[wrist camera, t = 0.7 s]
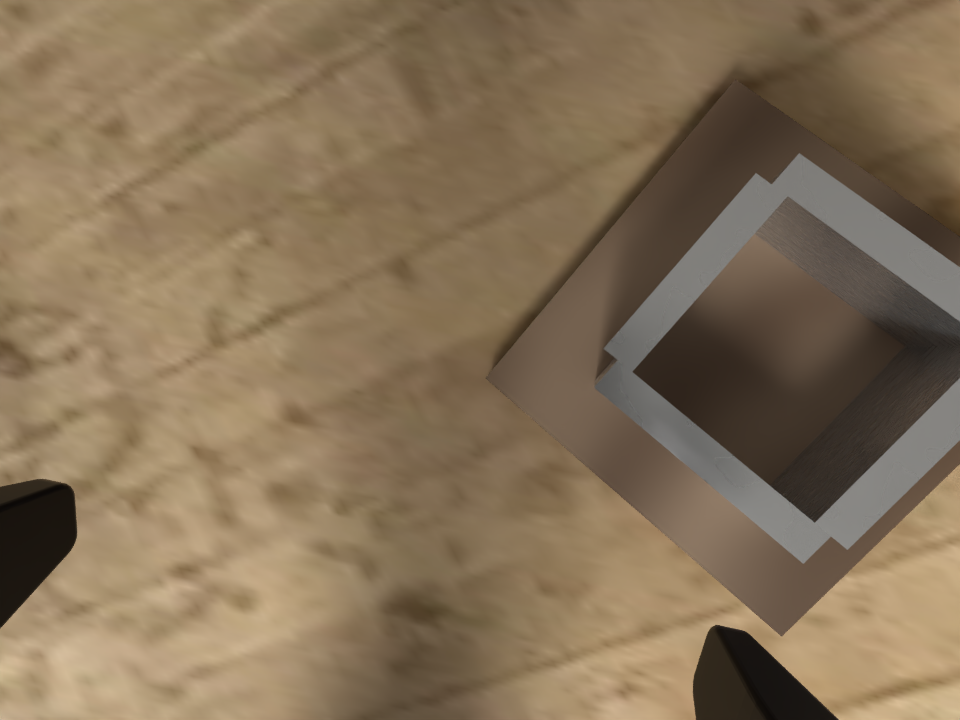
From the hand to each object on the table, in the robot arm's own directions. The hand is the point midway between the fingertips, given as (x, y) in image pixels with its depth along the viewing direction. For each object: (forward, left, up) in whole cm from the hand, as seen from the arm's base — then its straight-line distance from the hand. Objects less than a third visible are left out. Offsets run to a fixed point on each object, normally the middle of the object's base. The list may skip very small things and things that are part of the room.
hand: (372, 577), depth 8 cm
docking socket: (+2, -8, -14) cm, 16 cm away
